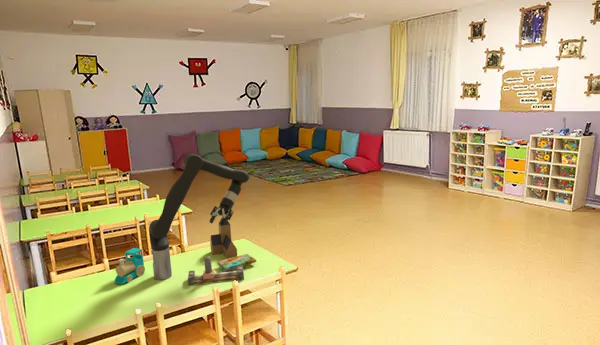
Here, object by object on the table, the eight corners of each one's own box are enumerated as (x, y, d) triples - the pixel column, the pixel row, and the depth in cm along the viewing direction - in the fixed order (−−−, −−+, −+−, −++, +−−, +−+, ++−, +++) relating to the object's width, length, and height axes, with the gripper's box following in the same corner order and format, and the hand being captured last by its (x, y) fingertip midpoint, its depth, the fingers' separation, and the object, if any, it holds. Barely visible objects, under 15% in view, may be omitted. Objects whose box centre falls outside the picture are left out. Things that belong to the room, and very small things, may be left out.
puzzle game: (217, 260, 243) (247, 252, 254) (217, 267, 244) (247, 259, 255) (225, 267, 234) (256, 258, 245) (225, 274, 235) (256, 265, 246)
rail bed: (188, 285, 222) (187, 277, 221) (189, 278, 230) (188, 270, 230) (243, 279, 227) (243, 271, 226) (242, 272, 236) (242, 264, 235)
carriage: (203, 279, 225) (201, 260, 222) (203, 275, 230) (202, 256, 228) (214, 278, 226) (213, 259, 223) (214, 273, 231) (213, 255, 229)
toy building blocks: (229, 248, 273) (227, 212, 268) (237, 258, 257) (235, 220, 252) (211, 251, 268) (208, 215, 263) (217, 262, 251) (215, 223, 247)
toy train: (112, 283, 227) (109, 258, 224) (135, 271, 242) (132, 247, 239) (123, 286, 224) (120, 260, 221) (145, 273, 239) (143, 249, 236)
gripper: (216, 195, 243) (203, 218, 236) (234, 198, 235) (221, 222, 228) (223, 202, 248) (210, 225, 241) (241, 205, 240) (228, 229, 233)
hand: (215, 224), depth 235 cm, fingers open, 8 cm apart
